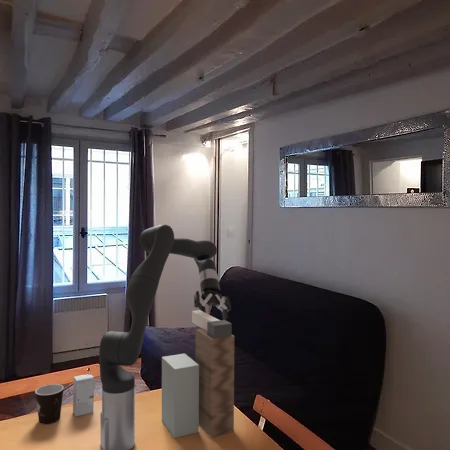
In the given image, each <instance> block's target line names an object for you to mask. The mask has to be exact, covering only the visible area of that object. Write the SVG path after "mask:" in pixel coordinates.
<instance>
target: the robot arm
mask: <svg viewBox="0 0 450 450" xmlns="http://www.w3.org/2000/svg"><path fill="white" fill-rule="evenodd" d="M139 243H140V247H141V248H142V249H143V250H144V251H145V252H146V253H149V254H148V255H147V256H146V258H145V259H144V260H143V261H142V262H141V263H140V264H139V265H138V266H137V267H136V268H135V270H134V272H133V273H132V274H131V277H130V280H129V282H128V285H127V288H126V291H125V298H126V302H127V304H128V309H129V310H130V313H131V326H130V329H129V331H128V332H127V331H116V330H115V331H113V330H112V331H111V330H110V331H107V332H105V333H104V334H103V335H102V338H101V340H100V343H99V350H98V352H99V354H98V355H99V357H98V358H99V372H100V373H99V375H100V382H101V386H102V387H101V389H102V390H101V393H102V394H101V395H102V396H101V407H102V409H101V412H100V446H101V449H102V450H131V449H133V447H134V446H135V443H136V442H135V440H136V439H135V438H136V434H135V433H136V431H135V429H136V428H135V426H136V424H135V420H136V419H135V418H136V417H135V416H136V415H135V414H136V412H135V410H136V407H135V406H136V405H135V404H136V403H135V401H136V400H135V399H136V395H135V392H136V391H135V389H136V388H135V387H136V382H135V381H136V380H135V375H134V374H132V373H131V372H130V371H128V370H126V369H124V368H123V367H122V366H133V365H135V364H136V362H137V361H138V360H139V357H140V354H141V349H142V347H143V346H142V345H143V340H144V336H145V333H146V329H147V328H146V327H147V324H148V320H149V316H150V312H151V309H152V307H153V303H154V300H155V297H156V295H157V292H158V291H157V290H158V287H159V284H160V281H161V277H162V274H163V272H164V271H163V270H164V267H165V264H166V262H167V261H168V258H169V256H170V254H172V255H178V256H182V257H188V258H191V259H194V261H195V264H196V266H197V268H198V273H199V278H198V279H199V286H200V287H199V288H200V291H198V290H196V291H195V293H194V295H193V302H194V306H193V307H194V308H195V309H196V308H198V310H201V311H203V312H205V313H207V311H206V307H205V306H206V305H207V306H211V307H212V306H213V307H216V308H217V309H218V310H220V311H221V317H222V320H226V321H227V319H228V318H229V315H228V313H229V311H231V310H232V309H231V308H232V305H231V301H230V298H229V295H226V296H222V293H221V287H220V279H219V275H218V273H217V267H216V263H215V261H214V260H212V258H214V257H215V256H216V255H217V252H218V248H217V246H216V244H215V243H214V242H212V241H211V240H194V239H190V238H184V237H175V232H174V230H173V228H172V227H171V226H170V225H168V224H159V225H156V226H152V227H149V228H146V229H144V230H143V231H142V232H141V233H140V236H139ZM200 298H201V299H202V300H203V301H202V303H201V299H200Z"/></svg>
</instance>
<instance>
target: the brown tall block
mask: <svg viewBox="0 0 450 450" xmlns="http://www.w3.org/2000/svg"><path fill="white" fill-rule="evenodd" d="M194 350H195V352H194V353H195V355H194V356H195V362H196V363H197V364H198V365H199V427H201V428H202V429H203V431H204V432H205V433H206V434H207V435H208V436H209V437H210V438H213V437H217V436H220V435H224V434H228V433H233V432H234V431H235V430H234V429H235V426H234V425H235V424H234V423H235V421H234V420H235V335H234V334H232V336H231V337H224V338H217V339H214V338H212V337H210V336H209V335H207V331H206V330H204V329H202V328H197V329H195V349H194Z"/></svg>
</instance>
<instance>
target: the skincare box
mask: <svg viewBox="0 0 450 450" xmlns="http://www.w3.org/2000/svg"><path fill="white" fill-rule="evenodd" d="M72 384H73V385H72V386H73V391H72V394H73V395H72V401H73V402H72V412H73V414H74V416H75V417H78V416H85V415H88V414H89V415H90V414H92V413H93V412H94V406H95V405H94V400H95V399H94V397H95V396H94V394H95V377H94V376H93V375H92V374H91V373H88V374H80V375H75V376H73V383H72Z"/></svg>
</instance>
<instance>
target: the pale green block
mask: <svg viewBox="0 0 450 450" xmlns="http://www.w3.org/2000/svg"><path fill="white" fill-rule="evenodd" d="M161 422H162V423H163V424H164V427H166V428H167V430H168V432H169V433H170V434H171V436H172V437H173V438H174V439H176V438H180V437H184V436H187V435H192V434H196V433H199V429H200V428H199V427H200V425H199V365H198V364H197V363H196V362H195V361H194V360H193V358H191V357H190V356H188V355H187V354H186V353H179V354H174V355H165V356H161Z"/></svg>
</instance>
